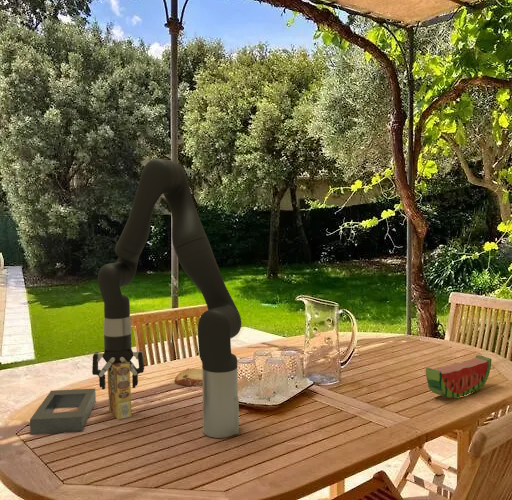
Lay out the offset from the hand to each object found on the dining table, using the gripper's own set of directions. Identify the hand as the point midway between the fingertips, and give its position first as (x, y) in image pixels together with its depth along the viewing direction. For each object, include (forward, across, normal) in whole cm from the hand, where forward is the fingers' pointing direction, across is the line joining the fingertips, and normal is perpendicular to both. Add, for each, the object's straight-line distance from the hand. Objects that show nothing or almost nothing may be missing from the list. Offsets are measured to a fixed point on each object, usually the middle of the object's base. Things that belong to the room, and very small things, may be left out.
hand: (119, 387), depth 150 cm
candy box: (+8, 0, 0) cm, 8 cm away
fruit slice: (+8, +105, +1) cm, 105 cm away
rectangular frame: (+8, -15, 0) cm, 17 cm away
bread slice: (+8, +26, +27) cm, 38 cm away
